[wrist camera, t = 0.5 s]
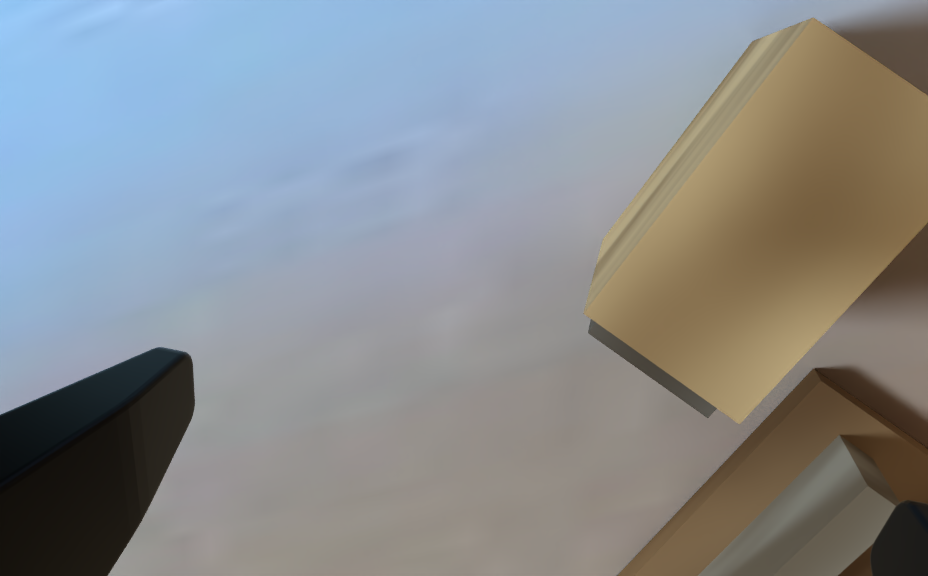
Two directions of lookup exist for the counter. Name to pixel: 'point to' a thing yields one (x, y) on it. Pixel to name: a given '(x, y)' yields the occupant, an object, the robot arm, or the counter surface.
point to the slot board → (795, 494)
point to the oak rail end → (764, 220)
